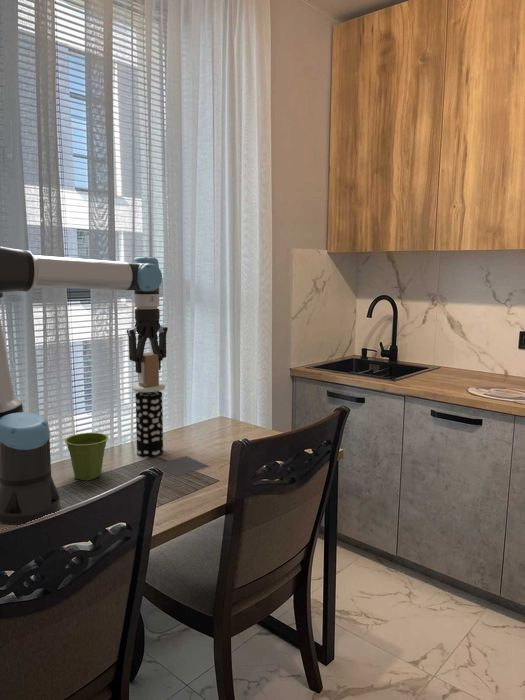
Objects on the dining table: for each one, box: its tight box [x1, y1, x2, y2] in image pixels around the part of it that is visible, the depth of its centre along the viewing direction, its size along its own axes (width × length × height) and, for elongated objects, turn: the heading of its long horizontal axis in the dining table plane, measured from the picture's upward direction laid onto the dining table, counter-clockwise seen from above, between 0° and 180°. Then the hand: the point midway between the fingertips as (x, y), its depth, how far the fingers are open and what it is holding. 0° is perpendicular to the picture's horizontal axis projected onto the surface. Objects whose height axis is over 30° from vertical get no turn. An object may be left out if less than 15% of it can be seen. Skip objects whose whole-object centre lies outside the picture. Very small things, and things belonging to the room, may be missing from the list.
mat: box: [153, 455, 210, 478], centre depth 161 cm, size 12×12×1 cm
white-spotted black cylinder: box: [135, 391, 164, 458], centre depth 170 cm, size 8×8×20 cm
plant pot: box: [64, 432, 109, 481], centre depth 152 cm, size 12×12×11 cm
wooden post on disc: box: [132, 352, 166, 393], centre depth 168 cm, size 10×10×11 cm
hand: (148, 381), depth 168 cm, fingers closed on wooden post on disc, 4 cm apart
